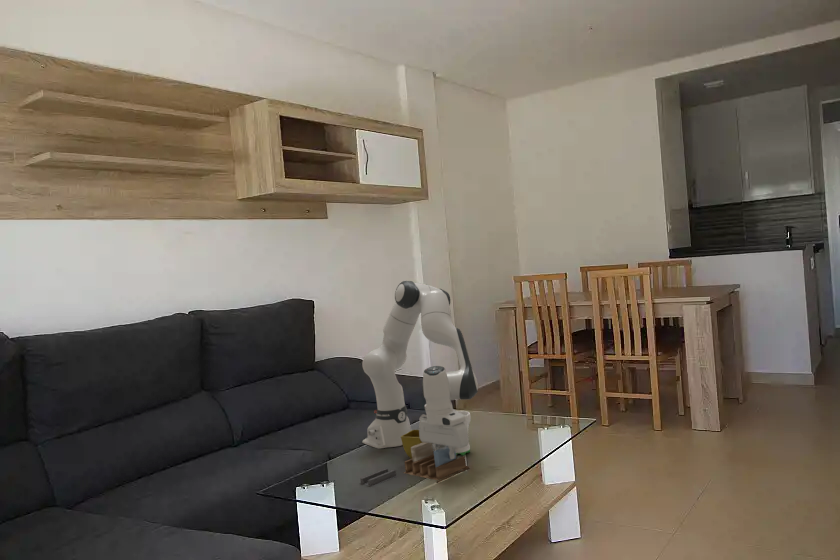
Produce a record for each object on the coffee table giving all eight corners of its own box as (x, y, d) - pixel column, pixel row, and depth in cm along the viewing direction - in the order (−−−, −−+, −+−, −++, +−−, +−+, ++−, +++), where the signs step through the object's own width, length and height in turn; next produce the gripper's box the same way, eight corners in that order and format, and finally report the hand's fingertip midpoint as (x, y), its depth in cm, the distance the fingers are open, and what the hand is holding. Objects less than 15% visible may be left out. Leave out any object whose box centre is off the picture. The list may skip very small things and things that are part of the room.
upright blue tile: (436, 475, 221) (433, 451, 221) (453, 467, 226) (450, 444, 226) (440, 476, 219) (437, 451, 219) (457, 468, 225) (454, 445, 225)
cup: (473, 456, 238) (468, 417, 238) (442, 459, 241) (437, 419, 240) (476, 447, 249) (471, 409, 249) (447, 449, 252) (442, 412, 251)
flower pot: (423, 461, 240) (420, 437, 240) (403, 460, 245) (399, 436, 245) (435, 454, 248) (432, 430, 248) (416, 453, 252) (412, 429, 252)
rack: (403, 475, 228) (399, 449, 228) (434, 461, 238) (431, 437, 238) (437, 482, 216) (434, 455, 216) (469, 468, 226) (466, 442, 226)
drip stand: (359, 485, 223) (358, 477, 223) (385, 475, 231) (383, 467, 231) (372, 489, 218) (371, 481, 218) (398, 478, 226) (397, 470, 225)
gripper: (412, 416, 228) (417, 456, 228) (455, 421, 213) (461, 464, 213) (425, 411, 232) (431, 451, 233) (468, 416, 217) (474, 458, 217)
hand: (445, 457), depth 223 cm, fingers open, 4 cm apart
